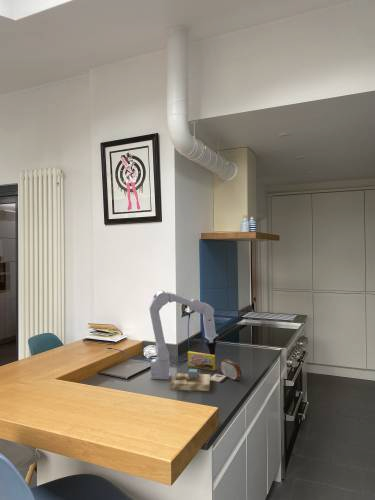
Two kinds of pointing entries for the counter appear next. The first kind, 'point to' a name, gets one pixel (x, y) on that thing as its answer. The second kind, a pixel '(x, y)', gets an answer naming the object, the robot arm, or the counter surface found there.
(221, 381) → the chocolate bar
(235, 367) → the tin
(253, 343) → the counter surface
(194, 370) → the block
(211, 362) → the candy box
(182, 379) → the board
